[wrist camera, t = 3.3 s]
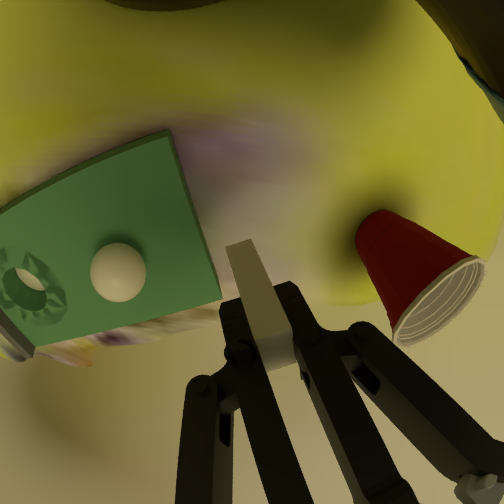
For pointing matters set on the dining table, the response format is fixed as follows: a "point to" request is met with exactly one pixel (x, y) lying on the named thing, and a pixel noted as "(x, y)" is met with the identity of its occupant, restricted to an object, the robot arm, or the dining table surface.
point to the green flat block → (101, 246)
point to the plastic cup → (416, 275)
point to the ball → (118, 272)
